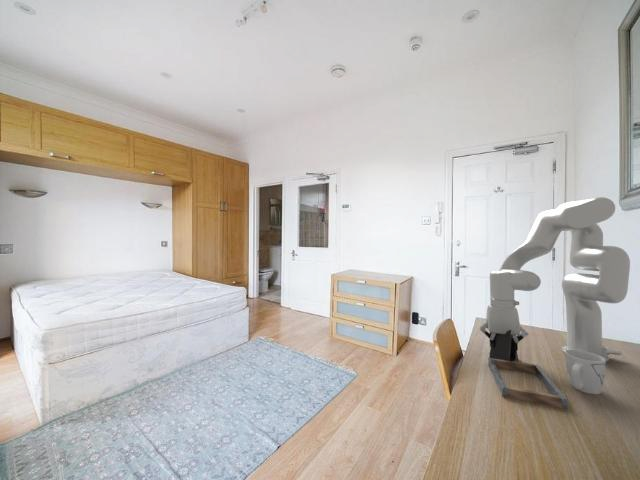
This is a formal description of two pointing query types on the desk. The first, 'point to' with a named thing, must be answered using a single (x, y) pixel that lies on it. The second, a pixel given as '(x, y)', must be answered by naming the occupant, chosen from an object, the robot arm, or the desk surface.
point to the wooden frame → (548, 399)
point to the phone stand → (503, 347)
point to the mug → (585, 371)
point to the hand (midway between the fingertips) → (503, 350)
